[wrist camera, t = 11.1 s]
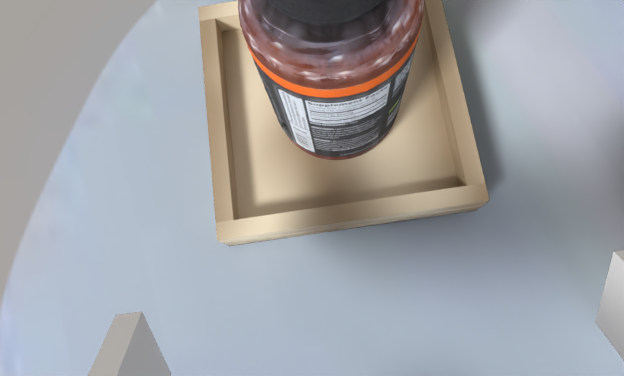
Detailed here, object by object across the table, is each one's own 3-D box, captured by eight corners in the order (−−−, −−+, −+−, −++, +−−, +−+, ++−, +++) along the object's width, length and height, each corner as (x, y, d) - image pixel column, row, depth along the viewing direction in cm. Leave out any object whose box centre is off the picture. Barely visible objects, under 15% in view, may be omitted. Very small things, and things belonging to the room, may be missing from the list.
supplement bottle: (280, 53, 23) (220, -168, 12) (397, 52, 23) (444, -178, 12) (273, 163, 22) (197, 28, 11) (397, 166, 21) (450, 26, 10)
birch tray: (426, -4, 24) (433, -33, 22) (475, 210, 21) (489, 200, 19) (211, 32, 25) (198, 7, 23) (229, 245, 22) (217, 240, 20)
